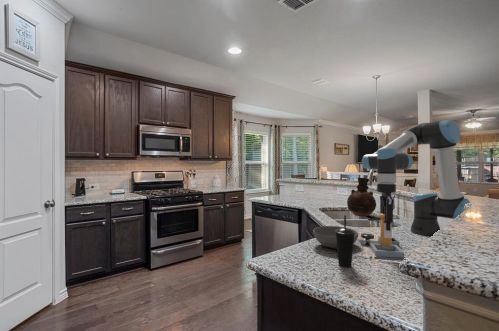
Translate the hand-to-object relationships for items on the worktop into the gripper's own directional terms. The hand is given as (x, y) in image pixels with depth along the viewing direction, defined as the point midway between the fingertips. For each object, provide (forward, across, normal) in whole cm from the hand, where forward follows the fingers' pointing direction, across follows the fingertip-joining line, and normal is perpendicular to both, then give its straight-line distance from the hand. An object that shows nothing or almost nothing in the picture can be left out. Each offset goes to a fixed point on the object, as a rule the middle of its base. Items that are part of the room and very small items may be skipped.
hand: (386, 236), depth 123 cm
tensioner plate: (+9, -13, 0) cm, 16 cm away
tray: (+9, 0, 0) cm, 9 cm away
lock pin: (+4, 0, 0) cm, 4 cm away
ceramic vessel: (+9, -98, +5) cm, 99 cm away
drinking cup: (+9, +16, -19) cm, 26 cm away
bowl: (+9, -9, -21) cm, 25 cm away
